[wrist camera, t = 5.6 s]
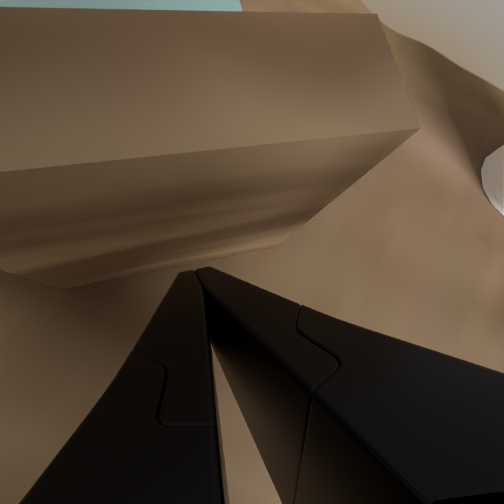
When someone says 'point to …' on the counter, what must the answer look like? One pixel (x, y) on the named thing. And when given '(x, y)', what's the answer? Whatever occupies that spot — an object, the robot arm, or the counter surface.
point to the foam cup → (494, 178)
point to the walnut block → (181, 132)
